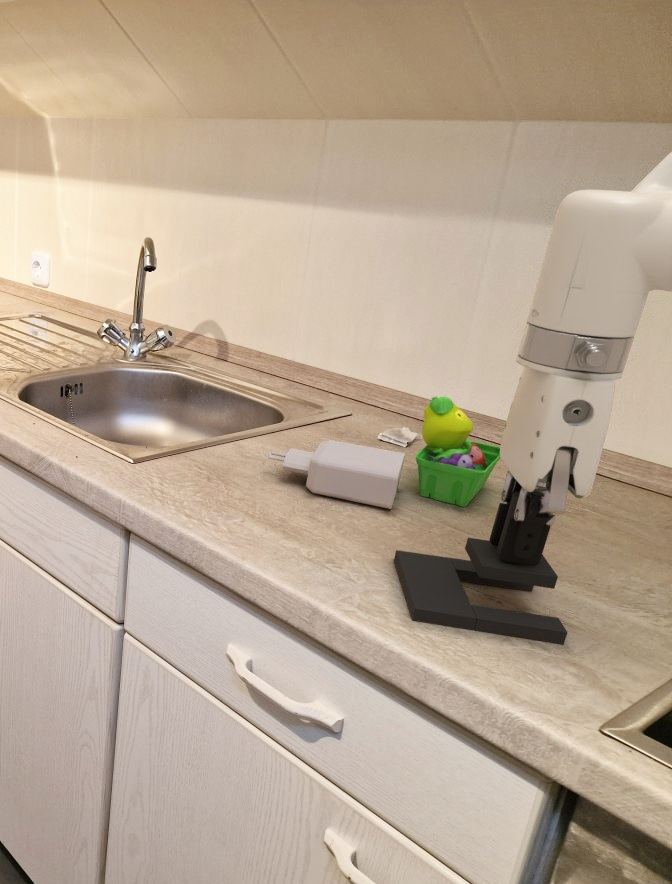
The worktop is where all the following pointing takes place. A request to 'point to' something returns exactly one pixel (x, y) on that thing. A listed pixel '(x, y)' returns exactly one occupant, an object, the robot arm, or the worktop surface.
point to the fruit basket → (452, 455)
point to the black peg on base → (496, 569)
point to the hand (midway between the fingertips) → (513, 552)
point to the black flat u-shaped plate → (465, 599)
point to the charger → (348, 471)
